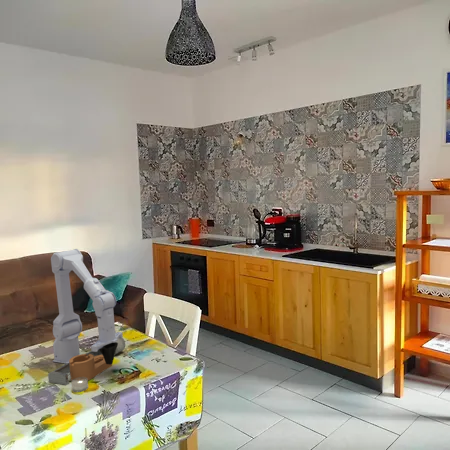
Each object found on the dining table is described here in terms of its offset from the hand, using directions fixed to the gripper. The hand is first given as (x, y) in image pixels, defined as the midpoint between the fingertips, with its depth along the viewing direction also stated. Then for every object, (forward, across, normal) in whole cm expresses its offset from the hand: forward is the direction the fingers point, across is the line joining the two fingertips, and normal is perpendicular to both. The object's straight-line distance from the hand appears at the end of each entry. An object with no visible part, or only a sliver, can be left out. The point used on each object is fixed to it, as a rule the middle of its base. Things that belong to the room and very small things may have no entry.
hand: (109, 363), depth 147 cm
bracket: (+4, -1, +8) cm, 8 cm away
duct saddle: (+3, +2, +11) cm, 12 cm away
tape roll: (+3, -13, +2) cm, 14 cm away
